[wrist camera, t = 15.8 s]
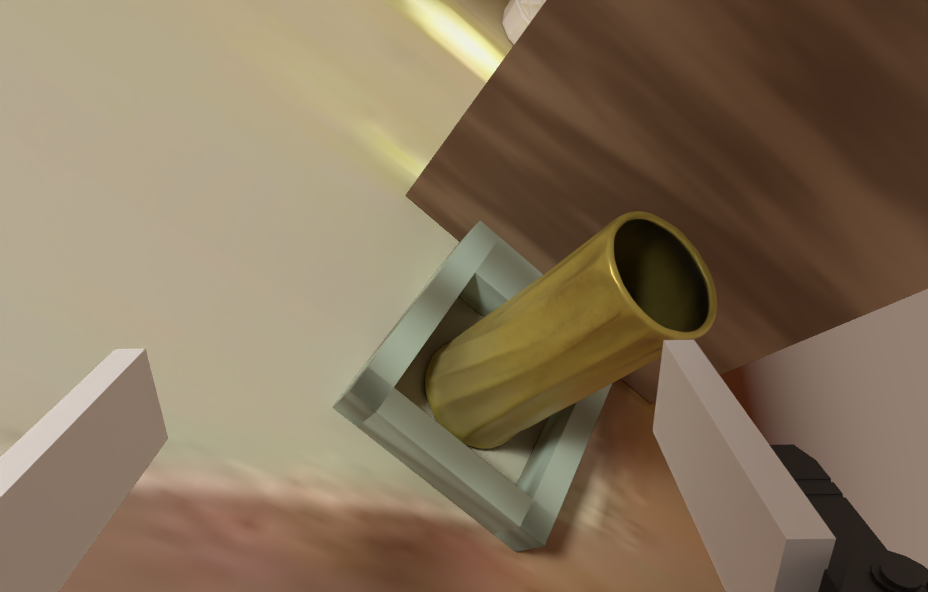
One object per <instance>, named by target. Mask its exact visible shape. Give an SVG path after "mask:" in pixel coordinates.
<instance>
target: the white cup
mask: <svg viewBox="0 0 928 592" xmlns="http://www.w3.org/2000/svg"><path fill="white" fill-rule="evenodd" d="M545 1H546V0H510V1H509V3H508V5H507V6H506V8H505V10H504V14H503V22H502V24H503V27H504V29H505V32H506V34H507V37H508V39H509V40H510V41H511V42H512V44H513V45H514V44H515V43H516V42H517V40H518V39H519V37H520V36H521V35H522V33H523V32H524V31H525V29H526V28H527V26H528V25H529V24H530V22H531V21H532V19H533V18H534V17H535V15H536V14H537V12H538V11H539V10H540V8H541V7H542V6H543V4H544V3H545Z"/></svg>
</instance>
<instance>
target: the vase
mask: <svg viewBox="0 0 928 592" xmlns="http://www.w3.org/2000/svg"><path fill="white" fill-rule="evenodd" d="M716 311H717V295H716V289H715V285H714V282H713V279H712V276H711V274H710V271H709V269H708V267H707V266H706V264H705V262H704V260H703V259H702V257H701V255H700V254H699V252H698V251H697V249H696V248H695V247H694V245H693V244H692V243H691V242H690V240H689V239H688V238H687V237H686V236H685V235H684V234H683V233H682V232H681V231H680V230H679V229H678V228H676V227H675V226H673V225H672V224H671V223H669V222H667V221H665V220H664V219H662V218H660V217H658V216H656V215H654V214H651V213H648V212H641V211H635V212H629V213H626V214H623V215H621V216H619V217H618V218H616V219H614V220H613V221H612V222H610V223H609V224H608V225H607V226H605V227H604V228H603V229H602V230H601V231H599V232H598V233H597V234H596V235H594V236H593V237H592V238H590V239H589V240H588V241H587V242H585V243H584V244H583V245H581V246H580V247H579V248H577V249H576V250H575V251H574V252H572V253H571V254H570V255H568V256H567V257H566V258H564V259H563V260H562V261H561V262H559V263H558V264H557V265H556V266H554V267H553V268H552V269H550V270H549V271H548V272H546V273H545V274H544V275H542V276H541V277H540V278H538V279H537V280H536V281H534V282H533V283H532V284H530V285H529V286H528V287H526V288H525V289H523V290H522V291H521V292H519V293H518V294H516V295H515V296H514V297H512V298H511V299H509V300H508V301H507V302H505V303H504V304H502V305H501V306H500V307H498V308H497V309H495V310H494V311H493V312H491V313H490V314H488V315H487V316H485V317H484V318H483V319H481V320H480V321H478V322H477V323H476V324H474V325H473V326H471V327H470V328H469V329H467V330H466V331H465V332H463V333H462V334H461V335H459V336H458V337H456V338H454V339H453V340H450V341H448V342H447V343H446V344H444V345H443V346H442V347H441V348H440V349H439V350H438V351H437V352H436V353H435V354H434V355H433V357H432V359H431V360H430V363H429V365H428V368H427V372H426V378H425V389H426V395H427V399H428V402H429V405H430V408H431V410H432V412H433V415H434V417H435V419H436V420H437V422H438V423H439V424H440V425H441V426H443V427H444V428H445V429H446V430H447V431H449V432H450V433H451V434H452V435H454V436H455V437H456V438H457V439H459V440H460V441H461V442H462V443H464V444H465V445H468V446H471V447H476V448H482V449H487V448H494V447H497V446H500V445H502V444H504V443H506V442H507V441H509V440H510V439H512V438H513V437H514V436H515V435H516V434H517V433H519V432H520V431H522V430H525V429H527V428H529V427H531V426H533V425H535V424H537V423H538V422H540V421H542V420H544V419H545V418H547V417H549V416H551V415H552V414H554V413H556V412H558V411H560V410H562V409H564V408H566V407H568V406H570V405H572V404H574V403H576V402H578V401H580V400H581V399H583V398H585V397H587V396H589V395H591V394H593V393H595V392H596V391H598V390H600V389H602V388H604V387H606V386H608V385H610V384H611V383H613V382H615V381H617V380H619V379H621V378H623V377H625V376H626V375H628V374H630V373H632V372H634V371H636V370H637V369H639V368H641V367H643V366H645V365H647V364H649V363H650V362H652V361H654V360H656V359H658V358H660V357H662V349H663V341H664V340H697V339H699V338H700V337H702V336H703V335H704V334H705V333H706V332H707V331H708V330H709V329H710V328H711V326H712V324H713V322H714V320H715V317H716Z"/></svg>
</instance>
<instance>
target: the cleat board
mask: <svg viewBox="0 0 928 592" xmlns="http://www.w3.org/2000/svg"><path fill="white" fill-rule="evenodd" d="M406 196H407V197H408V198H409V199H410V200H411V201H413V202H414V203H415V204H416V205H417V206H418V207H420V208H421V209H422V210H423V211H424V212H426V213H427V214H428V215H429V216H430V217H431V218H433V219H434V220H435V221H436V222H437V223H438V224H440V225H441V226H442V227H443V228H444V229H446V230H447V231H448V232H449V233H450V234H451V235H453V236H454V237H455V238H456V239H457V240H458V241H460V242H459V244H458V245H457V246H456V247H455V249H454V250H453V251H452V253H451V254H450V255H449V257H448V258H447V259H446V260H445V262H444V263H443V264H442V266H441V267H440V268H439V270H438V271H437V272H436V273H435V275H434V276H433V277H432V279H431V280H430V281H429V283H428V284H427V285H426V286H425V288H424V289H423V290H422V292H421V293H420V294H419V295H418V297H417V298H416V299H415V301H414V302H413V303H412V305H411V306H410V307H409V308H408V310H407V311H406V312H405V314H404V315H403V316H402V318H401V319H400V320H399V321H398V323H397V324H396V325H395V327H394V328H393V329H392V331H391V332H390V333H389V334H388V336H387V337H386V338H385V340H384V341H383V342H382V344H381V345H380V346H379V347H378V349H377V350H376V351H375V353H374V354H373V355H372V356H371V358H370V359H369V360H368V362H367V363H366V364H365V366H364V367H363V368H362V369H361V371H360V372H359V373H358V375H357V376H356V377H355V379H354V380H353V381H352V382H351V384H350V385H349V386H348V388H347V389H346V390H345V392H344V393H343V394H342V395H341V397H340V398H339V399H338V401H337V402H336V403H335V405H334V406H333V408H334V409H335V410H337V411H338V412H339V413H341V414H342V415H343V416H344V417H346V418H347V419H348V420H349V421H351V422H352V423H353V424H354V425H356V426H357V427H358V428H360V429H361V430H362V431H363V432H365V433H366V434H367V435H368V436H370V437H371V438H372V439H373V440H375V441H376V442H377V443H378V444H380V445H381V446H382V447H384V448H385V449H386V450H387V451H389V452H390V453H391V454H392V455H394V456H395V457H396V458H397V459H399V460H400V461H401V462H403V463H404V464H405V465H406V466H408V467H409V468H410V469H411V470H413V471H414V472H415V473H416V474H418V475H419V476H420V477H422V478H423V479H424V480H425V481H427V482H428V483H429V484H430V485H432V486H433V487H434V488H435V489H437V490H438V491H439V492H441V493H442V494H443V495H444V496H446V497H447V498H448V499H449V500H451V501H452V502H453V503H454V504H456V505H457V506H458V507H459V508H461V509H462V510H463V511H465V512H466V513H467V514H468V515H470V516H471V517H472V518H473V519H475V520H476V521H477V522H478V523H480V524H481V525H482V526H484V527H485V528H486V529H487V530H489V531H490V532H491V533H492V534H494V535H495V536H496V537H497V538H499V539H500V540H501V541H503V542H504V543H505V544H506V545H508V546H509V547H510V548H511V549H513V550H514V551H515V552H519V551H524V550H529V549H533V548H538V547H543V546H545V544H546V542H547V539H548V537H549V535H550V532H551V530H552V527H553V525H554V523H555V520H556V518H557V515H558V513H559V511H560V508H561V506H562V503H563V501H564V499H565V496H566V494H567V491H568V489H569V487H570V484H571V482H572V479H573V477H574V475H575V472H576V470H577V467H578V465H579V463H580V460H581V458H582V455H583V453H584V451H585V448H586V446H587V443H588V441H589V439H590V436H591V434H592V431H593V429H594V427H595V424H596V422H597V419H598V417H599V415H600V412H601V410H602V407H603V405H604V403H605V400H606V398H607V395H608V393H609V391H610V388H611V386H612V383H611V384H610V385H608V386H606V387H604V388H602V389H600V390H598V391H596V392H595V393H593V394H591V395H589V396H587V397H585V398H583V399H581V400H580V401H578V402H576V403H574V404H572V405H570V406H568V407H566V408H564V409H562V410H560V411H558V412H556V413H554V414H552V415H551V416H549V418H548V420H547V422H546V424H545V426H544V428H543V430H542V432H541V435H540V437H539V439H538V441H537V443H536V445H535V447H534V449H533V451H532V453H531V455H530V457H529V460H528V462H527V464H526V466H525V468H524V470H523V472H522V474H521V476H520V478H519V480H518V482H517V485H515V484H513V483H512V482H511V481H510V480H508V479H507V478H506V477H505V476H503V475H502V474H501V473H500V472H498V471H497V470H496V469H495V468H493V467H492V466H491V465H490V464H488V463H487V462H486V461H485V460H483V459H482V458H481V457H480V456H479V455H477V454H476V453H475V452H474V451H472V450H471V449H470V448H469V447H467V446H466V445H465V444H464V443H462V442H461V441H460V440H459V439H457V438H456V437H455V436H454V435H452V434H451V433H450V432H449V431H447V430H446V429H445V428H444V427H443V426H441V425H440V424H439V423H438V422H436V421H435V420H434V419H433V418H431V417H430V416H429V415H428V414H426V413H425V412H424V411H423V410H421V409H420V408H419V407H418V406H416V405H415V404H414V403H413V402H411V401H410V400H409V399H408V398H407V397H405V396H404V395H403V394H402V393H400V392H399V391H398V390H397V389H395V388H394V386H395V385H396V383H397V382H398V380H399V379H400V378H401V376H402V375H403V373H404V372H405V371H406V369H407V368H408V366H409V365H410V364H411V362H412V361H413V359H414V358H415V356H416V355H417V354H418V352H419V351H420V349H421V348H422V347H423V345H424V344H425V342H426V341H427V340H428V338H429V337H430V335H431V334H432V333H433V331H434V330H435V328H436V327H437V325H438V324H439V323H440V321H441V320H442V318H443V317H444V316H445V314H446V313H447V311H448V310H449V309H450V307H451V306H452V304H453V303H454V301H455V300H456V299H457V297H458V296H459V297H461V298H462V299H463V300H464V301H465V302H467V303H468V304H469V305H470V306H471V307H472V308H474V309H475V310H476V311H477V312H478V313H480V314H481V315H482V316H483V317H485V316H487V315H488V314H490V313H491V312H493V311H494V310H495V309H497V308H498V307H500V306H501V305H502V304H504V303H505V302H507V301H508V300H509V299H511V298H512V297H514V296H515V295H516V294H518V293H519V292H521V291H522V290H523V289H525V288H526V287H528V286H529V285H530V284H532V283H533V282H534V281H536V280H537V279H538V278H540V277H541V276H542V275H544V274H545V273H546V272H548V271H549V270H550V269H552V268H553V267H554V266H556V265H557V264H558V263H559V262H561V261H562V260H563V259H564V258H566V257H567V256H568V255H570V254H571V253H572V252H574V251H575V250H576V249H577V248H579V247H580V246H581V245H583V244H584V243H585V242H587V241H588V240H589V239H590V238H592V237H593V236H594V235H596V234H597V233H598V232H599V231H601V230H602V229H603V228H604V227H605V226H607V225H608V224H609V223H610V222H612V221H613V220H614V219H616V218H618V217H619V216H621V215H623V214H626V213H629V212H635V211H641V212H648V213H651V214H654V215H656V216H658V217H660V218H662V219H664V220H665V221H667V222H669V223H671V224H672V225H673V226H675V227H676V228H678V229H679V230H680V231H681V232H682V233H683V234H684V235H685V236H686V237H687V238H688V239H689V240H690V242H691V243H692V244H693V245H694V247H695V248H696V249H697V251H698V252H699V254H700V255H701V257H702V259H703V260H704V262H705V264H706V266H707V267H708V269H709V271H710V274H711V276H712V279H713V282H714V285H715V289H716V295H717V311H716V317H715V320H714V322H713V324H712V326H711V328H710V329H709V330H708V331H707V332H706V333H705V334H704V335H703V336H702V337H700V338H699V339H697V340H695V342H696V343H697V345H698V346H699V347H700V349H701V350H702V352H703V353H704V354H705V356H706V357H707V359H708V360H709V361H710V363H711V364H712V366H713V367H714V368H715V370H716V371H717V373H718V374H719V375H721V374H724V373H726V372H728V371H731V370H733V369H736V368H738V367H740V366H743V365H745V364H748V363H750V362H752V361H755V360H757V359H760V358H762V357H764V356H767V355H769V354H772V353H774V352H776V351H779V350H781V349H784V348H786V347H788V346H791V345H793V344H795V343H798V342H800V341H803V340H805V339H808V338H810V337H812V336H815V335H817V334H819V333H822V332H824V331H827V330H829V329H832V328H834V327H836V326H839V325H841V324H844V323H846V322H849V321H851V320H853V319H856V318H858V317H860V316H863V315H865V314H868V313H870V312H872V311H875V310H877V309H880V308H882V307H885V306H887V305H889V304H892V303H894V302H896V301H899V300H901V299H904V298H906V297H909V296H911V295H913V294H916V293H918V292H921V291H923V290H925V289H927V288H928V0H546V1H545V3H544V4H543V6H542V7H541V8H540V10H539V11H538V12H537V14H536V15H535V17H534V18H533V19H532V21H531V22H530V24H529V25H528V26H527V28H526V29H525V31H524V32H523V33H522V35H521V36H520V37H519V39H518V40H517V42H516V43H515V44H514V46H513V47H512V49H511V50H510V51H509V53H508V54H507V55H506V57H505V58H504V60H503V61H502V62H501V64H500V65H499V67H498V68H497V69H496V71H495V72H494V73H493V75H492V76H491V78H490V79H489V80H488V82H487V83H486V85H485V86H484V87H483V89H482V90H481V91H480V93H479V94H478V96H477V97H476V98H475V100H474V101H473V103H472V104H471V105H470V107H469V108H468V109H467V111H466V112H465V114H464V115H463V116H462V118H461V119H460V121H459V122H458V123H457V125H456V126H455V127H454V129H453V130H452V132H451V133H450V134H449V136H448V137H447V139H446V140H445V141H444V143H443V144H442V146H441V147H440V148H439V150H438V151H437V152H436V154H435V155H434V157H433V158H432V159H431V161H430V162H429V164H428V165H427V166H426V168H425V169H424V170H423V172H422V173H421V175H420V176H419V177H418V179H417V180H416V182H415V183H414V184H413V186H412V187H411V188H410V190H409V191H408V193H407V194H406ZM660 365H661V357H660V358H658V359H656V360H654V361H652V362H650V363H649V364H647V365H645V366H643V367H641V368H639V369H637V370H636V371H634V372H632V373H630V374H628V375H626V376H625V377H623V378H621V379H622V380H623V381H624V382H625V383H626V384H628V385H629V386H630V387H631V388H632V389H634V390H635V391H636V392H637V393H638V394H639V395H641V396H642V397H643V398H644V399H645V400H646V401H648V402H649V403H650V404H651V403H654V402H656V398H657V390H658V382H659V374H660Z"/></svg>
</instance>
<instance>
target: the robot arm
mask: <svg viewBox="0 0 928 592" xmlns="http://www.w3.org/2000/svg"><path fill="white" fill-rule="evenodd" d="M653 433H654V435H655V437H656V440H657V442H658V444H659V446H660V448H661V451H662V453H663V455H664V457H665V459H666V462H667V464H668V466H669V468H670V470H671V473H672V475H673V477H674V479H675V481H676V484H677V486H678V488H679V490H680V492H681V495H682V497H683V499H684V501H685V503H686V506H687V508H688V510H689V512H690V514H691V517H692V519H693V521H694V523H695V525H696V528H697V530H698V532H699V534H700V536H701V539H702V541H703V543H704V545H705V547H706V550H707V552H708V554H709V556H710V558H711V561H712V563H713V565H714V567H715V569H716V572H717V574H718V576H719V578H720V580H721V583H722V585H723V587H724V589H725V591H726V592H928V569H927V568H925V567H924V566H923V565H921V564H919V563H917V562H916V561H914V560H912V559H910V558H908V557H906V556H903V555H900V554H897V553H894V552H891V551H888V550H887V549H886V548H885V546H884V545H883V544H882V543H881V541H880V540H879V539H878V538H877V536H876V535H875V534H874V533H873V531H872V530H871V529H870V528H869V526H868V525H867V524H866V523H865V521H864V520H863V519H862V518H861V516H860V515H859V514H858V512H857V511H856V510H855V509H854V508H853V506H852V505H851V504H850V502H849V501H848V500H847V499H846V498H843V494H842V492H841V491H840V490H839V489H838V487H837V486H836V485H835V484H834V483H833V482H831V479H830V477H829V476H828V475H827V473H825V471H824V470H823V469H822V467H821V466H820V465H819V464H818V462H817V461H816V460H815V459H813V458H812V457H810V456H809V455H808V454H806V453H805V452H803V451H802V450H800V449H799V448H798V447H796V446H795V445H769V444H768V443H767V441H766V440H765V438H764V437H763V436H762V434H761V433H760V431H759V430H758V429H757V427H756V426H755V424H754V423H753V422H752V420H751V419H750V417H749V416H748V415H747V413H746V412H745V411H744V409H743V408H742V406H741V405H740V404H739V402H738V401H737V399H736V398H735V396H734V395H733V394H732V392H731V391H730V389H729V388H728V387H727V385H726V384H725V382H724V381H723V380H722V378H721V377H720V375H719V374H718V373H717V371H716V370H715V368H714V367H713V366H712V364H711V363H710V361H709V360H708V359H707V357H706V356H705V354H704V353H703V352H702V350H701V349H700V347H699V346H698V345H697V343H696V342H695V340H664V341H663V349H662V357H661V365H660V374H659V382H658V390H657V398H656V407H655V415H654V423H653ZM167 439H168V436H167V432H166V428H165V424H164V420H163V416H162V412H161V408H160V404H159V400H158V396H157V392H156V388H155V384H154V381H153V377H152V373H151V369H150V365H149V361H148V357H147V353H146V349H115V350H114V351H113V352H112V353H111V354H110V355H109V356H108V357H107V358H105V359H104V360H103V361H102V362H101V363H100V364H99V365H98V366H97V367H96V368H95V369H94V370H93V371H92V372H91V373H90V374H88V375H87V376H86V377H85V378H84V379H83V380H82V381H81V382H80V383H79V384H78V385H77V386H76V387H75V388H74V389H72V390H71V391H70V392H69V393H68V394H67V395H66V396H65V397H64V398H63V399H62V400H61V401H60V402H59V403H58V404H57V405H55V406H54V407H53V408H52V409H51V410H50V411H49V412H48V413H47V414H46V415H45V416H44V417H43V418H42V419H41V420H39V421H38V422H37V423H36V424H35V425H34V426H33V427H32V428H31V429H30V430H29V431H28V432H27V433H26V434H25V435H24V436H22V437H21V438H20V439H19V440H18V441H17V442H16V443H15V444H14V445H13V446H12V447H11V448H10V449H9V450H8V451H6V452H5V453H4V454H3V455H2V456H1V457H0V592H59V591H60V589H61V588H62V586H63V585H64V584H65V582H66V581H67V579H68V578H69V577H70V575H71V574H72V572H73V571H74V570H75V568H76V567H77V565H78V564H79V563H80V561H81V560H82V558H83V557H84V556H85V554H86V553H87V551H88V550H89V548H90V547H91V546H92V544H93V543H94V541H95V540H96V539H97V537H98V536H99V534H100V533H101V532H102V530H103V529H104V527H105V526H106V525H107V523H108V522H109V520H110V519H111V518H112V516H113V515H114V513H115V512H116V511H117V509H118V508H119V506H120V505H121V504H122V502H123V501H124V499H125V498H126V497H127V495H128V494H129V492H130V491H131V489H132V488H133V487H134V485H135V484H136V482H137V481H138V480H139V478H140V477H141V475H142V474H143V473H144V471H145V470H146V468H147V467H148V466H149V464H150V463H151V461H152V460H153V459H154V457H155V456H156V454H157V453H158V452H159V450H160V449H161V447H162V446H163V445H164V443H165V442H166V440H167Z"/></svg>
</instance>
